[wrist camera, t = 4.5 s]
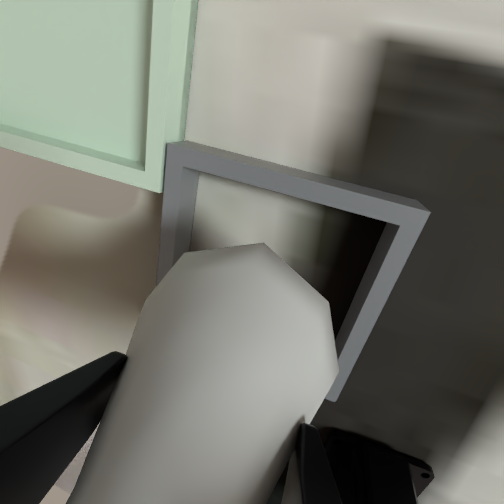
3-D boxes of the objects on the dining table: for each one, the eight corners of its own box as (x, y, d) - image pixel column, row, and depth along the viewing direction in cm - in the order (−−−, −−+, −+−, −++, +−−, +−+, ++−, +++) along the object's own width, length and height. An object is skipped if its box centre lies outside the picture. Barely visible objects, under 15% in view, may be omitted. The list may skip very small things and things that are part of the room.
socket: (335, 374, 18) (335, 402, 16) (169, 316, 19) (152, 335, 17) (417, 200, 13) (430, 212, 11) (187, 140, 14) (167, 142, 13)
